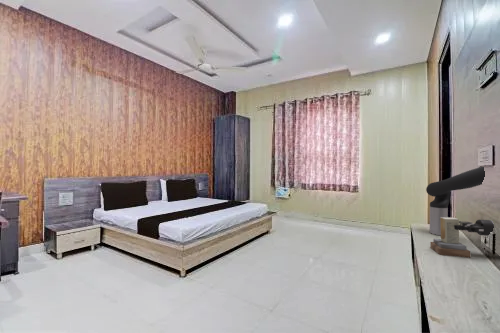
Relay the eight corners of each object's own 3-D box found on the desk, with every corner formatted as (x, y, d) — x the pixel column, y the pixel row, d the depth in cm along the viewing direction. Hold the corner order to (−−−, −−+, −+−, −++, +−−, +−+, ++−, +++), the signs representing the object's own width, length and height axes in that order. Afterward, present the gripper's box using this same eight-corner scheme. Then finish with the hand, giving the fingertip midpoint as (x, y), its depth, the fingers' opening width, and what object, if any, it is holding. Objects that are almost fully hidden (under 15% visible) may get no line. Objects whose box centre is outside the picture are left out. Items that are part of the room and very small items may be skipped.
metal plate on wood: (430, 247, 131) (430, 238, 131) (457, 249, 128) (457, 240, 128) (440, 254, 120) (440, 244, 120) (470, 257, 116) (470, 247, 116)
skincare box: (453, 241, 125) (454, 217, 126) (459, 243, 121) (459, 219, 121) (439, 240, 127) (439, 216, 127) (444, 243, 122) (445, 218, 122)
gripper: (482, 217, 126) (444, 215, 131) (500, 223, 112) (457, 220, 117) (482, 232, 126) (444, 229, 131) (500, 239, 112) (457, 236, 117)
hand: (450, 225), depth 124 cm, fingers open, 8 cm apart
